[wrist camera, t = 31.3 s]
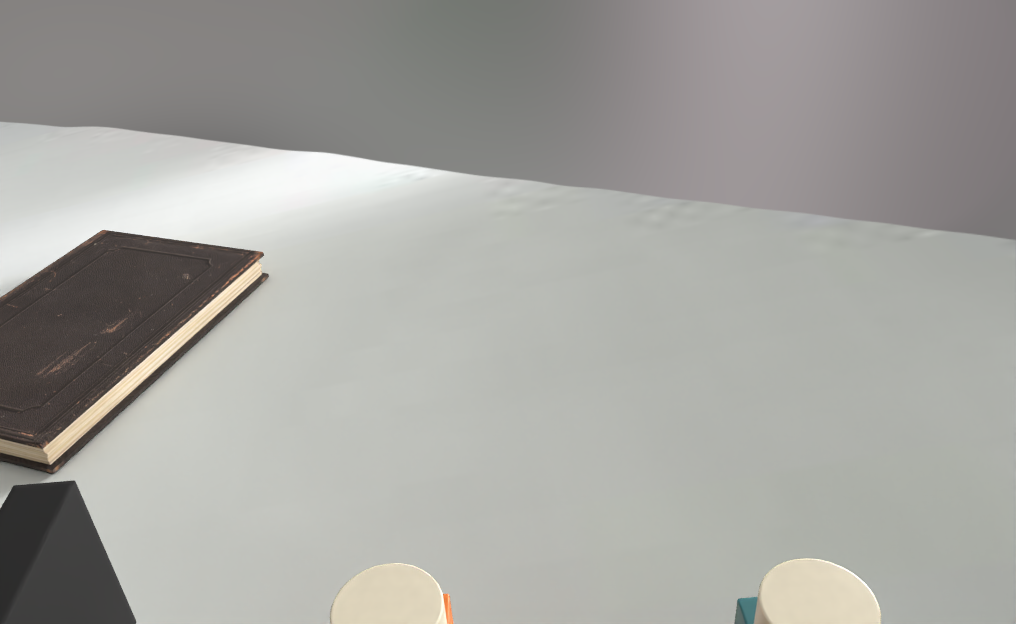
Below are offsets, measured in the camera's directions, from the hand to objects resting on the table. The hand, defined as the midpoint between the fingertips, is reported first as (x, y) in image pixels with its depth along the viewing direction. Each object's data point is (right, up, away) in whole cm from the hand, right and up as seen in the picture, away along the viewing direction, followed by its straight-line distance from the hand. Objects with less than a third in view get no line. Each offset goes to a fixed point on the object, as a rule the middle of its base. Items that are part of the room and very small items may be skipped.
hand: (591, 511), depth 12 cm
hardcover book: (-31, 0, +52) cm, 60 cm away
